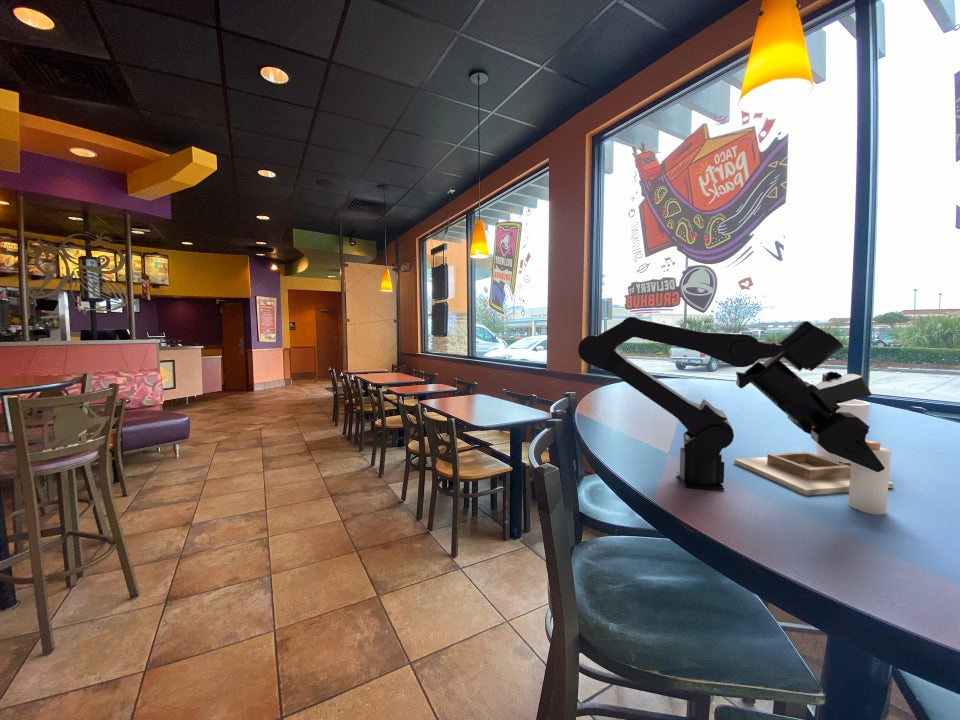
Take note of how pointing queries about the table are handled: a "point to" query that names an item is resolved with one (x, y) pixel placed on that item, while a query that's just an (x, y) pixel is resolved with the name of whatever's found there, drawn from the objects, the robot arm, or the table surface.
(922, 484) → the table surface
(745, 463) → the plate
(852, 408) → the foam cup
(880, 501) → the white bottle
